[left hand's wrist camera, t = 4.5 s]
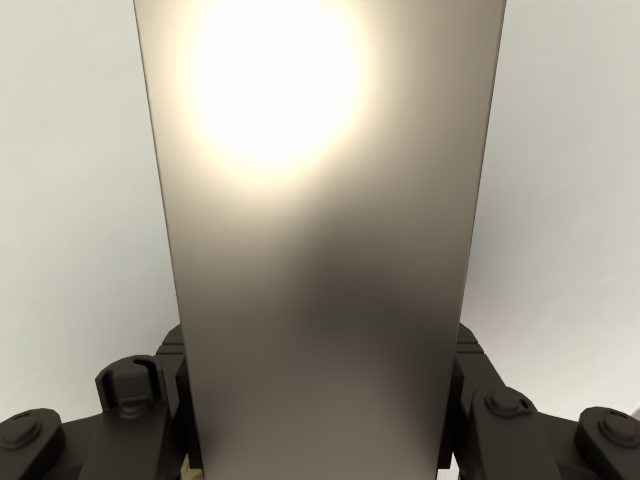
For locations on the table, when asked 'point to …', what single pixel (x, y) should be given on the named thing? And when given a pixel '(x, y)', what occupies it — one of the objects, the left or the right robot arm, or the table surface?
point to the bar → (319, 221)
